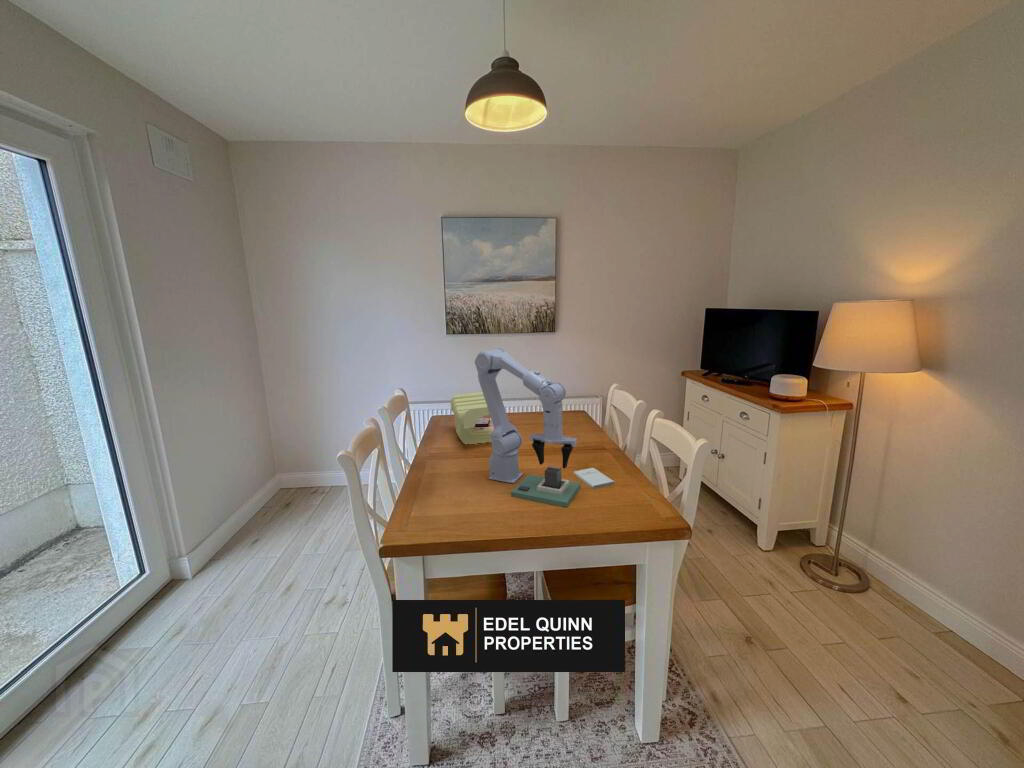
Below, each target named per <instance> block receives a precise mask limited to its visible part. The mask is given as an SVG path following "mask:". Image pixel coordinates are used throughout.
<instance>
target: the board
mask: <svg viewBox="0 0 1024 768" xmlns="http://www.w3.org/2000/svg"><path fill="white" fill-rule="evenodd" d="M581 486H582V485H581V482H577V481H573V480H572V481H571V480H568V479H564V478H561V487H560V488H559V489H555V488H550V487H545V476H542V475H536V474H531V473H530V474H528V475H527V476H526V477H525V478H523V480H521V482H519V483H518V484H517V486H515V487H514V489H512V490H511V491H510V494H511V495H510V497H512V498H513V497H514V498H517V499H522V500H526V501H527V500H528V501H531V502H538V503H543V504H548V505H553V506H557V507H562V508H568V507H569V505H570V503H571V502H572V501H573V499H574V498H575V496H576V495H577V493H578V492H579V490H580V489H581Z"/></svg>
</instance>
